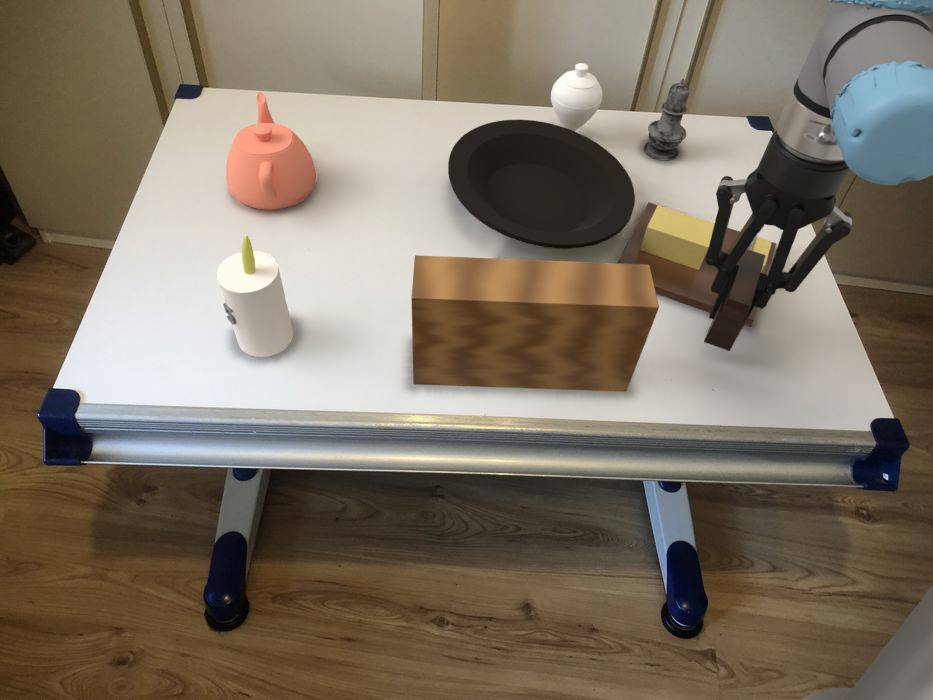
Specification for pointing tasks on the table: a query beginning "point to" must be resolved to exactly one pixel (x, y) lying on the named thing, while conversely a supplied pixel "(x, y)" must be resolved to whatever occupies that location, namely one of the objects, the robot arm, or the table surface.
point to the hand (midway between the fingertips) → (727, 316)
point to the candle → (255, 301)
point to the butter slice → (762, 248)
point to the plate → (541, 184)
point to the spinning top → (576, 97)
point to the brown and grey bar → (736, 301)
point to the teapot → (269, 164)
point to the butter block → (677, 237)
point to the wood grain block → (529, 322)
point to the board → (681, 269)
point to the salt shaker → (669, 125)
